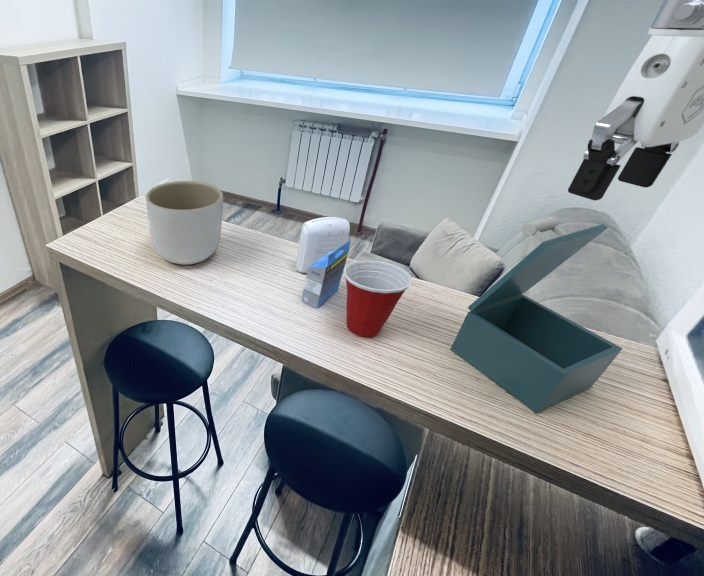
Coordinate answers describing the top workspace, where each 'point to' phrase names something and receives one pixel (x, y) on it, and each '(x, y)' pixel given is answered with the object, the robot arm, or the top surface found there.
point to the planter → (185, 220)
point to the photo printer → (320, 240)
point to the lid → (538, 260)
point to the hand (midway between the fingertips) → (608, 189)
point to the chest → (533, 351)
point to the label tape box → (325, 276)
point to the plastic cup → (372, 294)
